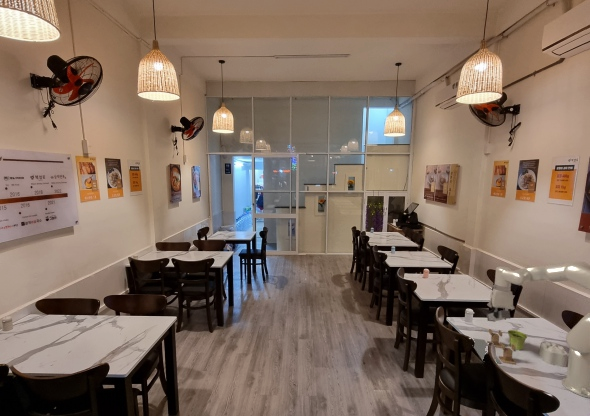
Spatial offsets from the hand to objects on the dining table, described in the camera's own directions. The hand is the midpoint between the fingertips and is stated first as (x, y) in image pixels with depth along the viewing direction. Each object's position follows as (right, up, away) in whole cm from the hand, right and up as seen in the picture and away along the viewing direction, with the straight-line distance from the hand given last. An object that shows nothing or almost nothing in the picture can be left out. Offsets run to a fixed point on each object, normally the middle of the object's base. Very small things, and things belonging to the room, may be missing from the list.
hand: (499, 317), depth 164 cm
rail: (0, -2, +2) cm, 3 cm away
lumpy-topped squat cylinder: (+27, -22, -4) cm, 35 cm away
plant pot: (+15, -21, +7) cm, 27 cm away
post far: (+3, -21, +9) cm, 23 cm away
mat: (-7, -21, +4) cm, 23 cm away
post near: (-1, -22, -6) cm, 23 cm away
